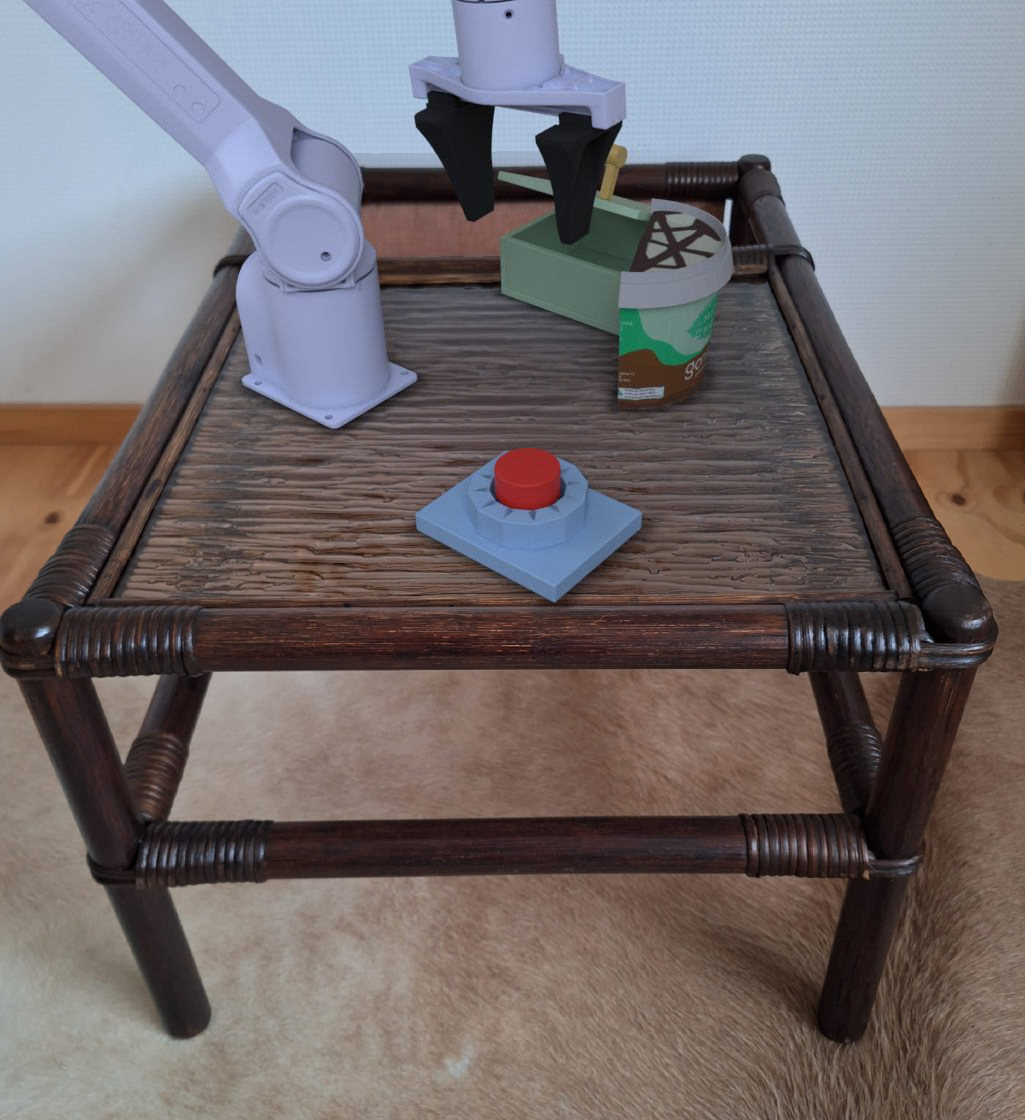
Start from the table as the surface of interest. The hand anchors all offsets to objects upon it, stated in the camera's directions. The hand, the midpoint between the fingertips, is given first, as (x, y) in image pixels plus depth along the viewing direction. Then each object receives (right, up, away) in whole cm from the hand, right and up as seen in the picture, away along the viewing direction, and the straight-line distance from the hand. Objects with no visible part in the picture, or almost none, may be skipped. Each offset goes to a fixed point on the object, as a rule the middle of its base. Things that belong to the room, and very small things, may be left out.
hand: (526, 226), depth 67 cm
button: (0, -17, -8) cm, 19 cm away
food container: (+10, -9, +6) cm, 15 cm away
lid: (+6, +5, +11) cm, 14 cm away
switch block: (0, -19, -7) cm, 20 cm away
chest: (+6, 0, +16) cm, 17 cm away
